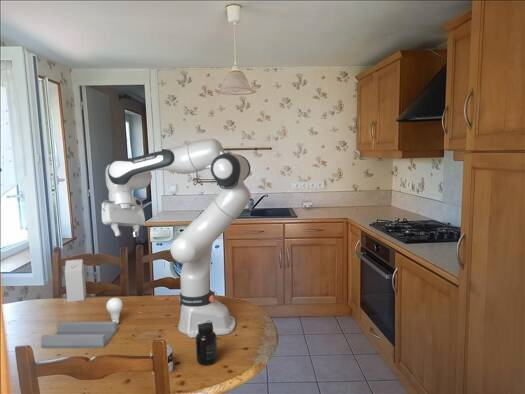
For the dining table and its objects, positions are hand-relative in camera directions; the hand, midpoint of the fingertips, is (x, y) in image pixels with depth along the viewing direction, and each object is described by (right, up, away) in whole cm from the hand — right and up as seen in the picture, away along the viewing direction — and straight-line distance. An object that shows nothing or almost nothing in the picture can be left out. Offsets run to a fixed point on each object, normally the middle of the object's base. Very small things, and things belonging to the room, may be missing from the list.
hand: (127, 236), depth 143 cm
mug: (+21, -40, -24) cm, 51 cm away
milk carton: (-36, -33, +32) cm, 59 cm away
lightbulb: (-7, -36, +6) cm, 37 cm away
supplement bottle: (+34, -39, -20) cm, 55 cm away
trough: (-15, -38, -6) cm, 41 cm away
